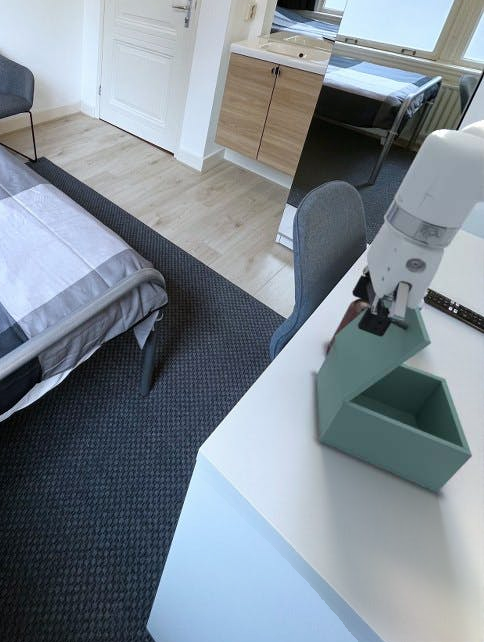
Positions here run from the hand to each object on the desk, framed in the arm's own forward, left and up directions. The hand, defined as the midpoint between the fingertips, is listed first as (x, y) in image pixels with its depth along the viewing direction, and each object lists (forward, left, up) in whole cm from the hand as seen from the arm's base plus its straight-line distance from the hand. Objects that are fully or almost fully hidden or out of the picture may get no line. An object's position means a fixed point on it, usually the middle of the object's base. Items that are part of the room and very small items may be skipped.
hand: (366, 313), depth 64 cm
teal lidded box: (-9, 0, -24) cm, 26 cm away
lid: (-3, 0, -4) cm, 5 cm away
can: (-6, -13, -24) cm, 28 cm away
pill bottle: (-19, -31, -24) cm, 44 cm away
